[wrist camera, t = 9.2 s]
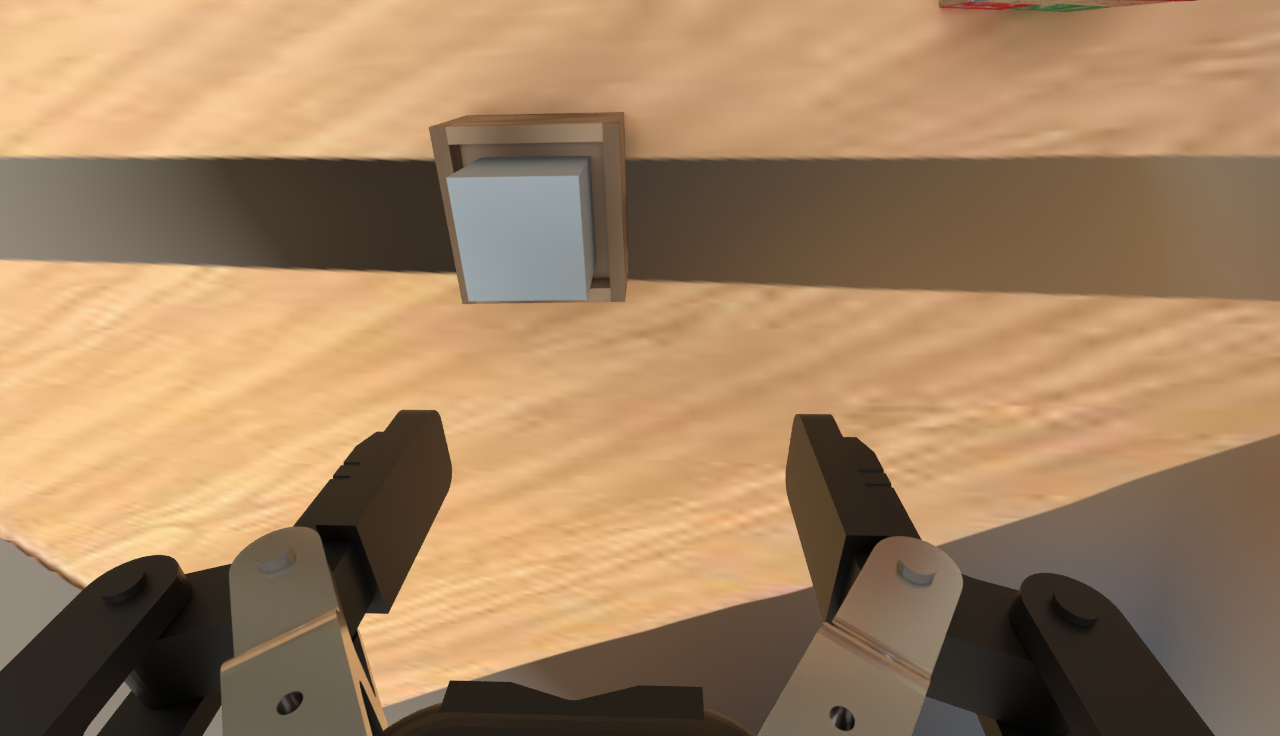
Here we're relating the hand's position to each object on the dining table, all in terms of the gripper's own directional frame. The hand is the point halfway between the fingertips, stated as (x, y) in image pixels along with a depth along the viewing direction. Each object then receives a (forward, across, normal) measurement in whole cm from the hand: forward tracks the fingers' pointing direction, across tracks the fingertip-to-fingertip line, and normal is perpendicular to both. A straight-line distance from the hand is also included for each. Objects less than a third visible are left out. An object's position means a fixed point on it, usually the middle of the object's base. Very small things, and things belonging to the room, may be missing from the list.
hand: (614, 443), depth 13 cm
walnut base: (+20, +5, -1) cm, 21 cm away
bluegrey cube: (+16, +5, -1) cm, 17 cm away
